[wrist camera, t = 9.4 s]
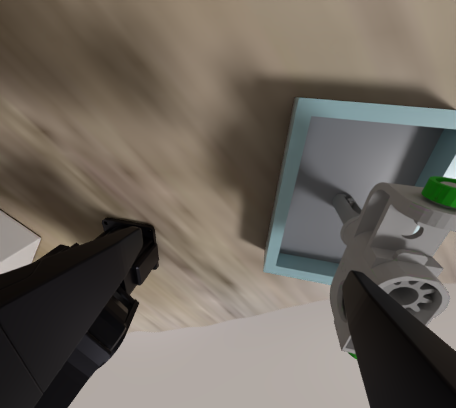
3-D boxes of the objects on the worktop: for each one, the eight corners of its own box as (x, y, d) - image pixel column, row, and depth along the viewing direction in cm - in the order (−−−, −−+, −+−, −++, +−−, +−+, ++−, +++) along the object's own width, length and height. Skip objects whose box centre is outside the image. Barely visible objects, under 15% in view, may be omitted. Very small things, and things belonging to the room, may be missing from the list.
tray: (264, 250, 23) (263, 271, 20) (294, 97, 16) (298, 97, 13) (372, 270, 22) (387, 296, 19) (457, 110, 15) (500, 113, 12)
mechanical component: (387, 141, 15) (536, 202, 7) (341, 252, 20) (392, 373, 11) (343, 136, 16) (429, 189, 7) (309, 246, 20) (334, 358, 12)
